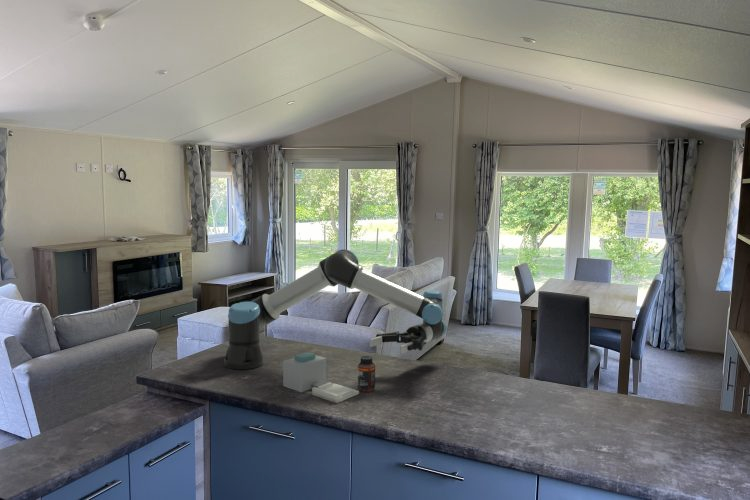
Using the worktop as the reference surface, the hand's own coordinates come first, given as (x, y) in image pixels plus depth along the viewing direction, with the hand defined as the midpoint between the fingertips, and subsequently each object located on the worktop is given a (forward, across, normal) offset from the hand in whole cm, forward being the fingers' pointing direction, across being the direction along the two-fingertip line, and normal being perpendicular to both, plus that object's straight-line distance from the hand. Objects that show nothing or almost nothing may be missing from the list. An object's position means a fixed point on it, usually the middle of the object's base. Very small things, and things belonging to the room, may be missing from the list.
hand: (385, 346), depth 190 cm
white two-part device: (+20, +14, -13) cm, 28 cm away
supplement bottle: (+10, 0, -13) cm, 17 cm away
